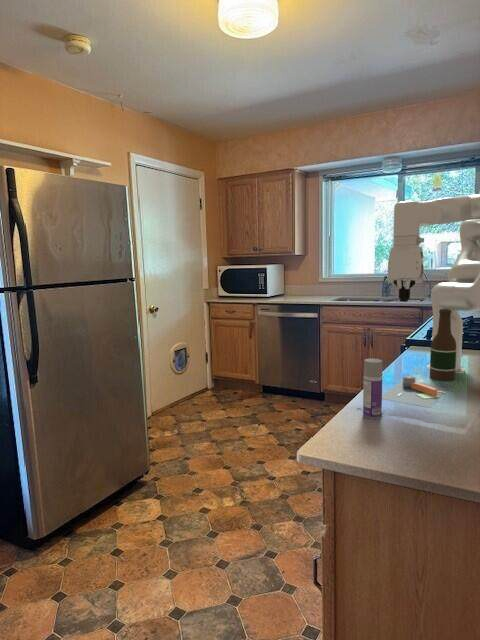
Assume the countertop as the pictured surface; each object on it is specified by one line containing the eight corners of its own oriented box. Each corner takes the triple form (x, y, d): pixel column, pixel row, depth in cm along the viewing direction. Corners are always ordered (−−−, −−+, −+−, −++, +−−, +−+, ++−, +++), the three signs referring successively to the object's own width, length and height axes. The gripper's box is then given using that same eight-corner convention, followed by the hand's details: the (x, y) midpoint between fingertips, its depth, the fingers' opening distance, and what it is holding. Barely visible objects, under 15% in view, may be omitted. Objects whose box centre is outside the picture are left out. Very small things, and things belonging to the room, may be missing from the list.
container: (381, 413, 115) (382, 358, 113) (381, 419, 111) (382, 363, 109) (363, 411, 117) (364, 357, 115) (362, 417, 112) (363, 362, 110)
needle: (400, 385, 134) (400, 376, 133) (408, 383, 135) (409, 375, 135) (430, 396, 123) (430, 386, 123) (439, 394, 125) (440, 385, 124)
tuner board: (402, 383, 141) (402, 379, 141) (450, 390, 132) (451, 386, 132) (378, 402, 124) (378, 397, 124) (432, 412, 115) (432, 407, 115)
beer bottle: (458, 385, 137) (462, 310, 134) (432, 384, 139) (435, 310, 135) (451, 378, 145) (454, 307, 141) (426, 377, 147) (429, 307, 143)
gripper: (434, 241, 132) (432, 301, 135) (386, 243, 141) (384, 299, 144) (428, 241, 126) (425, 303, 129) (377, 243, 135) (376, 301, 138)
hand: (404, 301), depth 136 cm, fingers closed
